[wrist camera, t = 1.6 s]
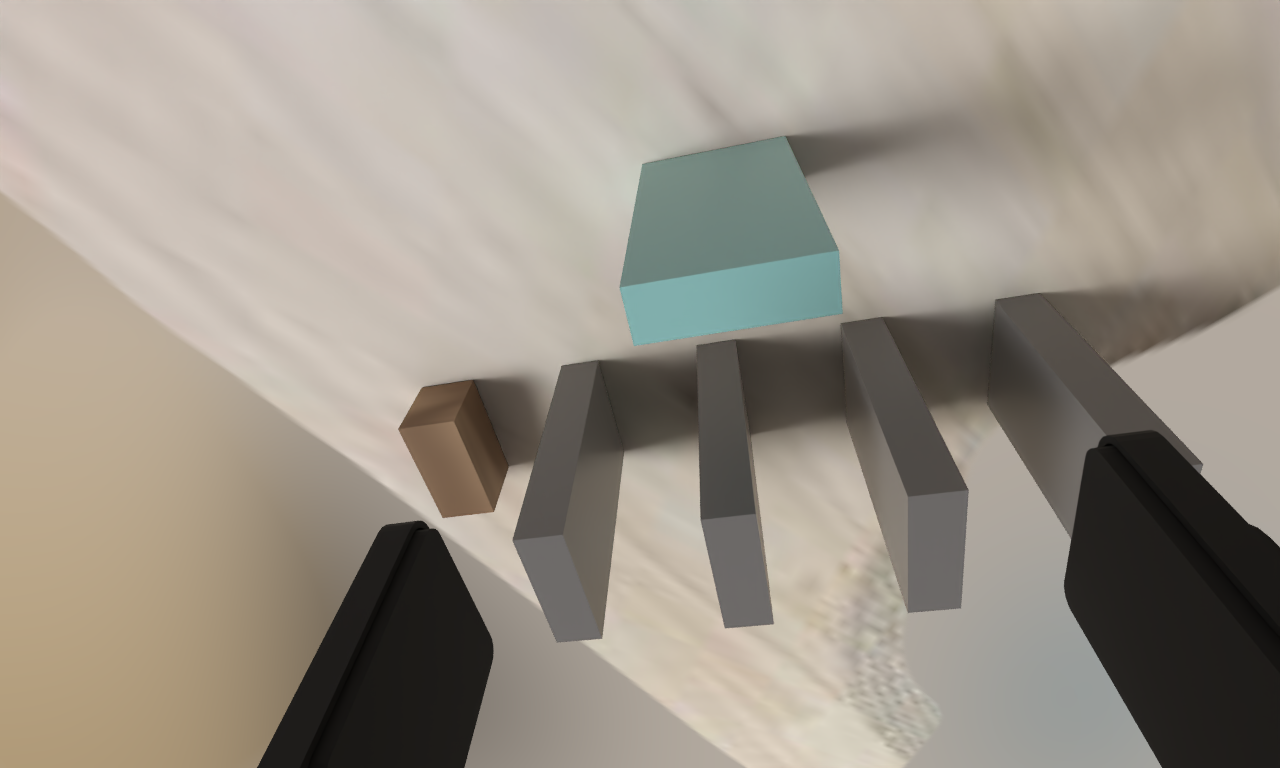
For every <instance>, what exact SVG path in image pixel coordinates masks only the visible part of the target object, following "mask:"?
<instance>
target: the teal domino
mask: <svg viewBox="0 0 1280 768" xmlns="http://www.w3.org/2000/svg"><path fill="white" fill-rule="evenodd" d="M620 291H621V295H622V299H623V303H624V307H625V311H626V315H627V319H628V324H629V328H630V332H631V336H632V340H633V344H634V346H637V345H643V344H649V343H656V342H662V341H669V340H675V339H682V338H688V337H695V336H701V335H708V334H714V333H721V332H727V331H734V330H740V329H747V328H753V327H759V326H766V325H772V324H779V323H785V322H792V321H798V320H805V319H811V318H818V317H824V316H831V315H837V314H843V312H842V295H841V278H840V260H839V250H838V247H837V245H836V243H835V241H834V239H833V237H832V235H831V232H830V230H829V228H828V226H827V224H826V222H825V220H824V218H823V215H822V213H821V211H820V209H819V207H818V205H817V203H816V200H815V198H814V196H813V194H812V192H811V190H810V188H809V186H808V183H807V181H806V179H805V177H804V175H803V173H802V171H801V168H800V166H799V164H798V162H797V160H796V158H795V156H794V154H793V151H792V149H791V147H790V145H789V143H788V141H787V139H786V137H785V136H783V137H778V138H773V139H767V140H762V141H757V142H752V143H747V144H742V145H737V146H732V147H727V148H722V149H717V150H712V151H707V152H702V153H697V154H692V155H686V156H681V157H676V158H671V159H666V160H661V161H656V162H651V163H646V164H642V169H641V175H640V180H639V185H638V191H637V196H636V202H635V207H634V212H633V218H632V223H631V229H630V234H629V239H628V245H627V250H626V256H625V261H624V266H623V272H622V277H621V282H620Z"/></svg>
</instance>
